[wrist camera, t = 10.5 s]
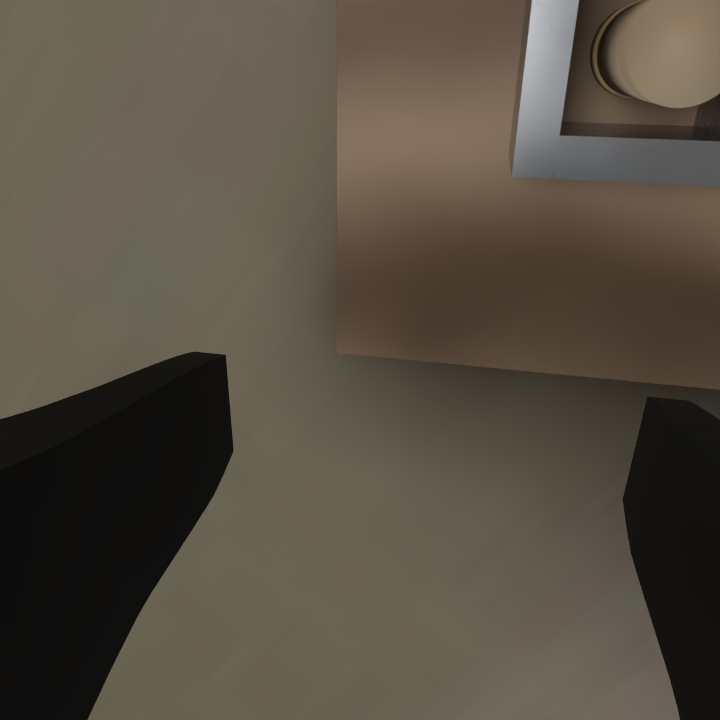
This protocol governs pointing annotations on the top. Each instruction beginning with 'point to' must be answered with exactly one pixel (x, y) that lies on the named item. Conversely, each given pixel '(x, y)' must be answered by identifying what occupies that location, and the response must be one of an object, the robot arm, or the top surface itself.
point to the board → (521, 195)
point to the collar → (595, 140)
